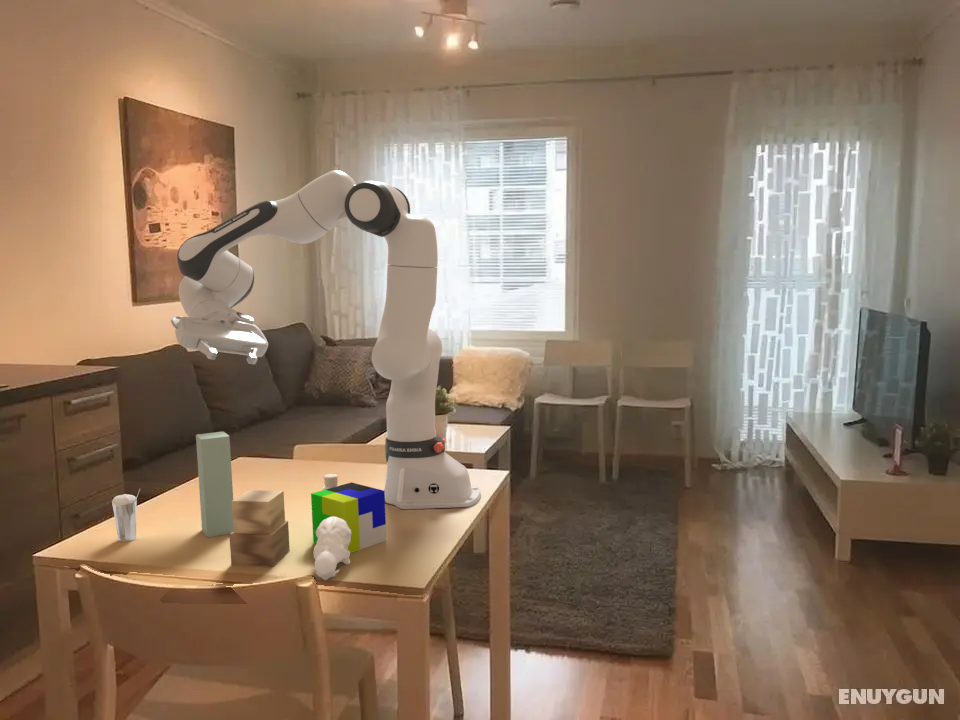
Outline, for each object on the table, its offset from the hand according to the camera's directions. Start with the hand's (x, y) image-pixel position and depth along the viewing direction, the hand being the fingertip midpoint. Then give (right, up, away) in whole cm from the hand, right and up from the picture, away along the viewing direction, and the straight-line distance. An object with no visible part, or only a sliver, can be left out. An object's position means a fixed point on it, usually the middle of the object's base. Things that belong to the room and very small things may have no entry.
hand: (233, 359), depth 178 cm
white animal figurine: (+27, -38, -32) cm, 56 cm away
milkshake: (-17, -36, -12) cm, 42 cm away
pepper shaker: (+23, -35, -8) cm, 42 cm away
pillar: (0, -35, -9) cm, 36 cm away
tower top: (+12, -31, -25) cm, 42 cm away
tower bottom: (+12, -37, -25) cm, 46 cm away
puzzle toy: (+28, -36, -17) cm, 48 cm away
